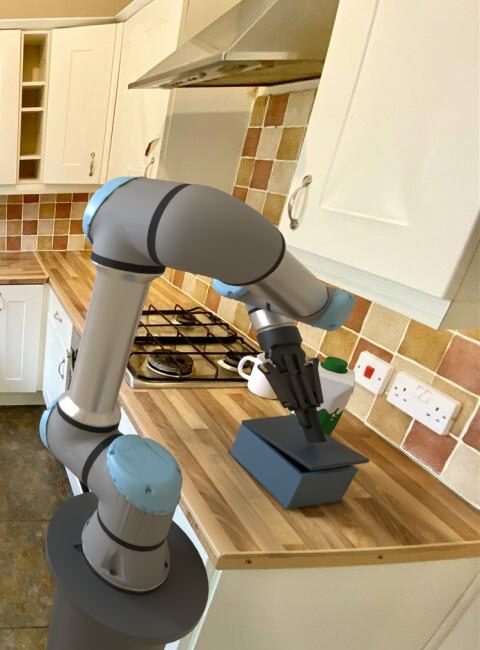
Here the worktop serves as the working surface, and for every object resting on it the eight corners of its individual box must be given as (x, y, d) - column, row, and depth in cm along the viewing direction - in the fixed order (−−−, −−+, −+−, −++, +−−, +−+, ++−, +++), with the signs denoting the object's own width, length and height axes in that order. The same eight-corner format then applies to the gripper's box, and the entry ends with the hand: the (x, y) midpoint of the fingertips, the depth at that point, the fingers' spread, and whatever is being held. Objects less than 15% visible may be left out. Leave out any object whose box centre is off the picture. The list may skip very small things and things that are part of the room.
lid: (368, 462, 78) (370, 459, 78) (311, 470, 76) (312, 467, 76) (290, 417, 94) (291, 414, 93) (241, 423, 92) (242, 420, 92)
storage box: (340, 501, 84) (358, 469, 80) (286, 509, 82) (302, 476, 78) (277, 447, 98) (290, 417, 94) (230, 453, 96) (241, 423, 92)
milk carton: (328, 431, 102) (362, 363, 94) (326, 451, 96) (362, 380, 88) (286, 417, 108) (314, 350, 99) (281, 434, 101) (310, 365, 93)
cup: (275, 403, 113) (288, 372, 108) (228, 384, 121) (238, 354, 117) (285, 391, 118) (297, 361, 113) (238, 374, 126) (248, 345, 121)
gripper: (287, 332, 93) (328, 440, 86) (236, 337, 92) (273, 447, 84) (317, 322, 86) (364, 437, 79) (262, 326, 84) (305, 445, 77)
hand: (317, 442), depth 81 cm, fingers closed
